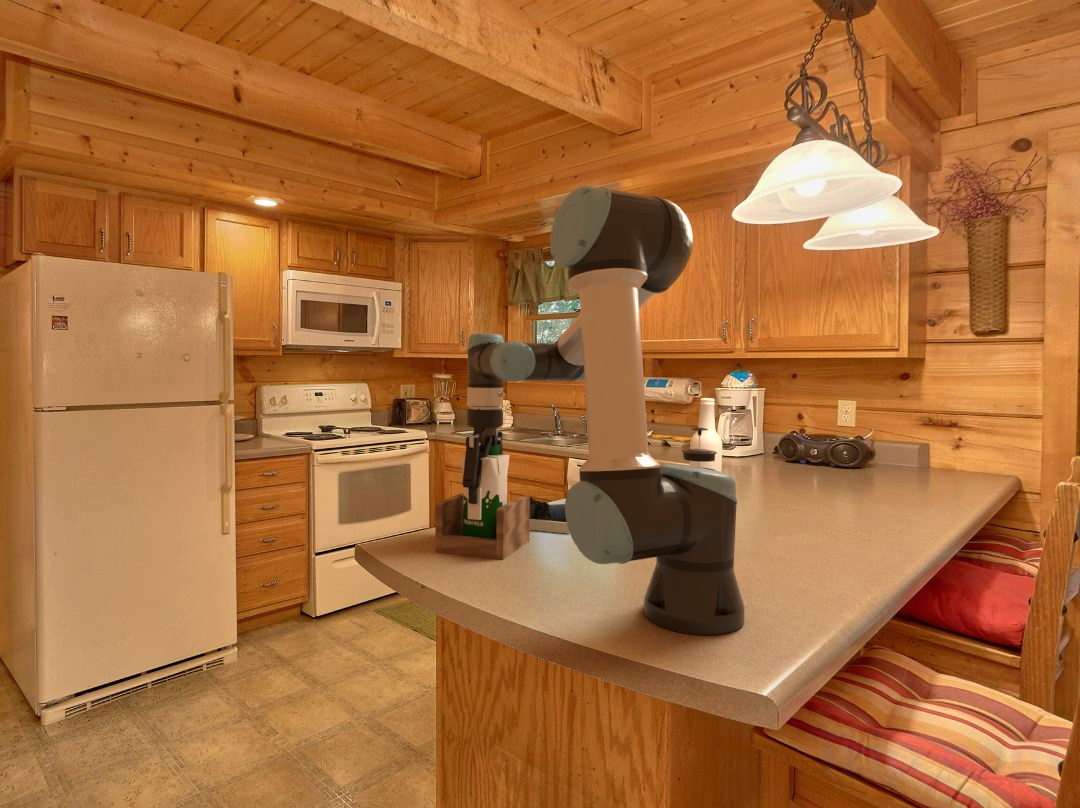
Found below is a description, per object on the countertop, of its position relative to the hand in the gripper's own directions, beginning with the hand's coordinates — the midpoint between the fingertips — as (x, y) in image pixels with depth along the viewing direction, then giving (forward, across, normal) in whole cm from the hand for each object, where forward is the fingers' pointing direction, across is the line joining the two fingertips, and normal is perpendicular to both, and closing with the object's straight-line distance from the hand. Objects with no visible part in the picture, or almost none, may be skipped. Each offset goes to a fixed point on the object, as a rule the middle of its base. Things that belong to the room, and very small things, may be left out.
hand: (484, 514), depth 139 cm
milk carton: (+6, 0, 0) cm, 6 cm away
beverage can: (+7, +24, -8) cm, 26 cm away
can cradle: (+7, +24, -8) cm, 26 cm away
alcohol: (+7, +63, -40) cm, 75 cm away
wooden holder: (+7, 0, 0) cm, 7 cm away
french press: (+7, +48, -40) cm, 63 cm away
